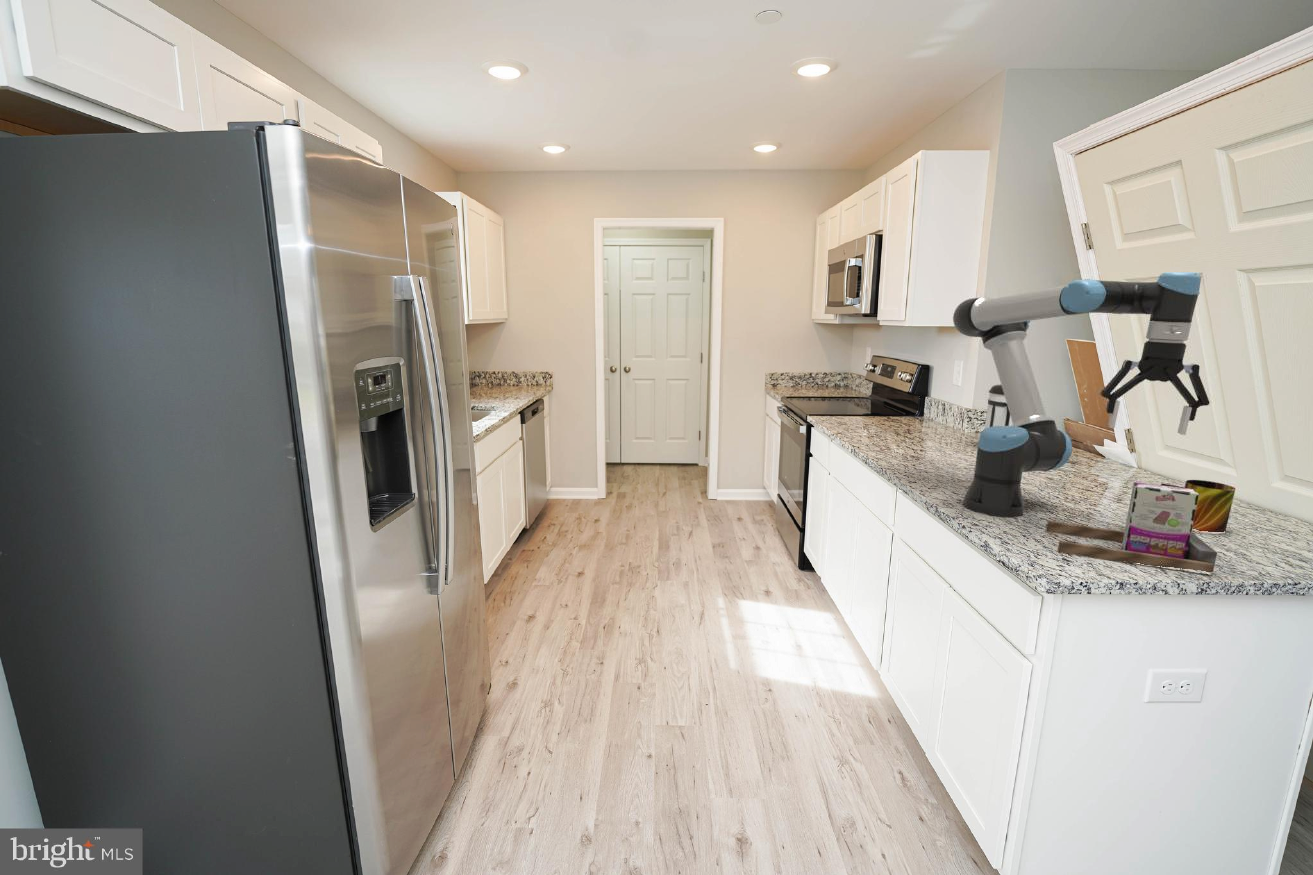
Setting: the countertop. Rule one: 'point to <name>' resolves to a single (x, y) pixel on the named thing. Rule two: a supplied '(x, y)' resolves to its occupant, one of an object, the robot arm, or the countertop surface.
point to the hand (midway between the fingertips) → (1145, 430)
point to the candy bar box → (1160, 520)
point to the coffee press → (997, 408)
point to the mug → (1211, 504)
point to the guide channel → (1196, 558)
